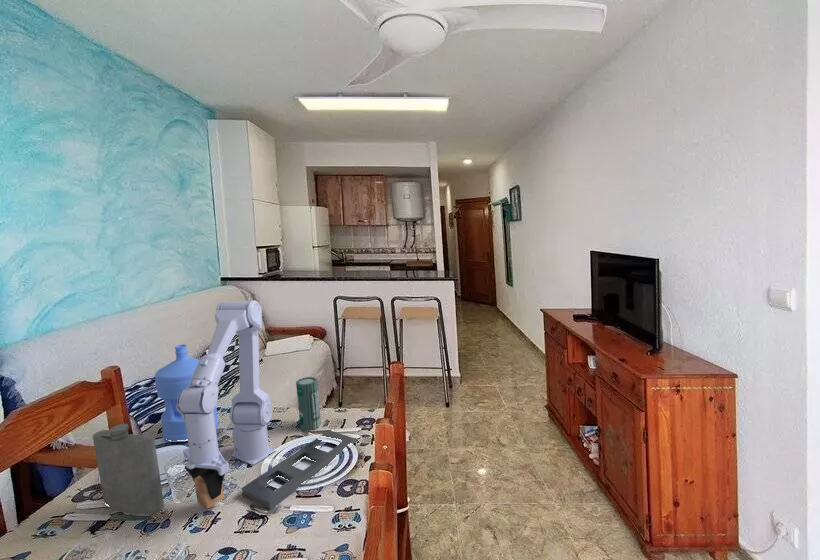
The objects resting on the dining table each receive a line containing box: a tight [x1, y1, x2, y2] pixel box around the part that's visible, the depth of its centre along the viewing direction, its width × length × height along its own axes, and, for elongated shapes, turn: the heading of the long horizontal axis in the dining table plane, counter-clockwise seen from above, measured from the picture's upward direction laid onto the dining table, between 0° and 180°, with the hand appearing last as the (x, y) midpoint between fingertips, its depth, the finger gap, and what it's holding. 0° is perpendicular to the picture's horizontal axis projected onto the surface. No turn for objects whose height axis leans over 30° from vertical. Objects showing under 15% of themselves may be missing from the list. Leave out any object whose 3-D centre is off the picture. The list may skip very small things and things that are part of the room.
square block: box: [193, 476, 225, 509], centre depth 93 cm, size 4×4×6 cm
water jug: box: [154, 344, 220, 441], centre depth 127 cm, size 16×16×28 cm
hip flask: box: [92, 423, 165, 515], centre depth 94 cm, size 16×4×20 cm, turn 76°
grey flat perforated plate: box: [241, 429, 356, 511], centre depth 107 cm, size 10×30×2 cm, turn 148°
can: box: [295, 376, 322, 432], centre depth 128 cm, size 6×6×15 cm
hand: (209, 493), depth 93 cm, fingers closed on square block, 4 cm apart
